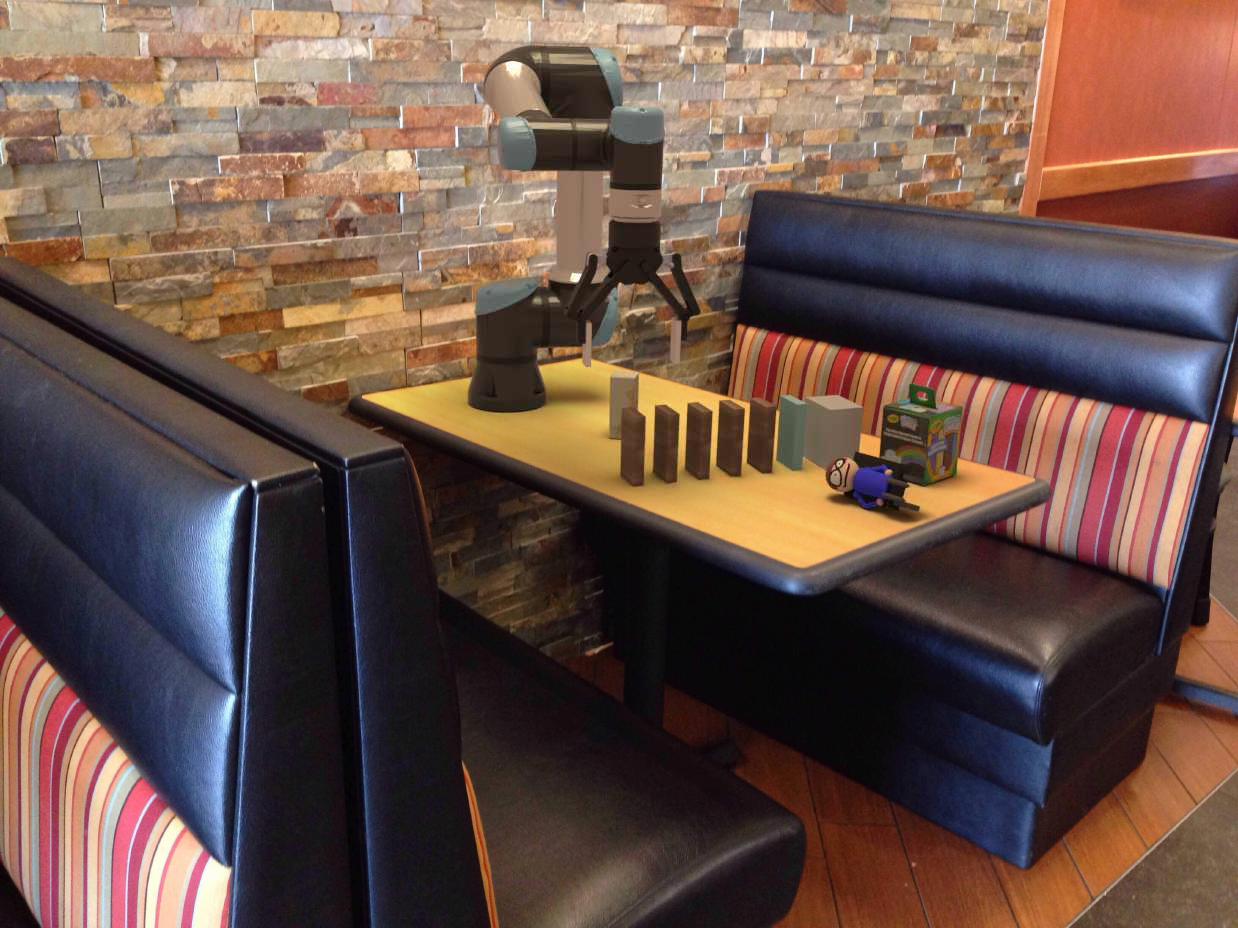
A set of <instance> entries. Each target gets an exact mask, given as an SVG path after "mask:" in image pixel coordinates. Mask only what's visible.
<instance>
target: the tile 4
mask: <svg viewBox="0 0 1238 928" xmlns="http://www.w3.org/2000/svg"><path fill="white" fill-rule="evenodd" d="M745 414H746V408H745V407H742V406H741V405H739V404H738V403H736V402H735V401H733V400H731V399H720V400H719V401H718V417H717V418H718V419H717V420H718V421H717V437H716V438H717V440H716V457H715V460H716V461H715V466H716V468H718V469H719V470H720V471H722V473H723V472H724V473H725V474H726V475H727V476H729V477H730V478H732V477H741V476H742V467H743V451H744V450H743V448H744V435H745V434H744V431H745V418H746V417H745V416H746V415H745Z"/></svg>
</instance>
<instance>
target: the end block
mask: <svg viewBox="0 0 1238 928" xmlns="http://www.w3.org/2000/svg"><path fill="white" fill-rule="evenodd" d="M804 402H805V403H807V412H806V425H805V439H804V452H803V458H806V459H807V460H808V461H811V462H812V463H814V464H815V465H817V466H818V467H820V468H822V469H824V470H825V471H826V470H827V467H828V465H829V464H830V463H831V462H832V461H833V460H835V459H837V458H842V457H845V458H849V459H851V460H853V458H854V455H855V451H856V452H860V446H861V436H862V435H861V434H862V426H863V425H862V424H863V415H864V414H863V413H864V406H862V405H859V404H857V403H855V402H853V401H851V400H850V399H847V398H845V397H843V396H840V395H838V394H832V395H831V394H829V395H820V396H819V395H818V396H808V397H807V396H805V401H804Z"/></svg>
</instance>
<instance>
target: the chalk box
mask: <svg viewBox="0 0 1238 928" xmlns="http://www.w3.org/2000/svg"><path fill="white" fill-rule="evenodd" d="M908 390H909V391H908V392H909V398H901V399H898V400H895V401H894V402H891V403H886V404H884V405H883V406H882V420H881V430H880V432H881V433H880V441H879V454H878V458H882V459H886V460H889V461H893V462H897V463H901V464H904V465H908V466H912V468H911V472H910V476H914V477H918V478H921V479H925V480H927V481H926V484H925V485H924V484H920V483H917V482H913V481H910V480H908V483H913V484H915V485H918V486H920V487H925V486H928V485H930V484H934V483H936V482H938V481H941V480H945V479H947V478H949V477H952V476H955V475H957V470H958V460H959V451H960V440H961V438H960V437H961V430H962V428H961V427H962V420H963V411H964V409H963V408H964V407H963V406H962V405H958V404H954V403H950V402H947V401H945V402H944V401H942V400H940V401H939V400H936V391H935V388H933V387H929V386H927V385H926V386H925V385H921V384H916V383H912V382H911V383H909V384H908ZM919 392H922V393H924V394H925V395H926V396H927V398H926V397H922V396H918V393H919Z"/></svg>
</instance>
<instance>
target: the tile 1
mask: <svg viewBox="0 0 1238 928" xmlns="http://www.w3.org/2000/svg"><path fill="white" fill-rule="evenodd" d="M646 421H647V417H646V416H645V414H643V413H642V412H640V411H639V410H638V411H637V410H636V409H635V408H633V407H627V408H622V420H621V439H620V466H619V467H620V471H619V476H620V477H621V478H623V480H625V482H626V483H628V484H629V485H630V486H631V488H633V487H634V488H635V487H644V486H645V457H646V456H645V455H646V429H647V428H646V426H647V424H646V423H647V422H646Z"/></svg>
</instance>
